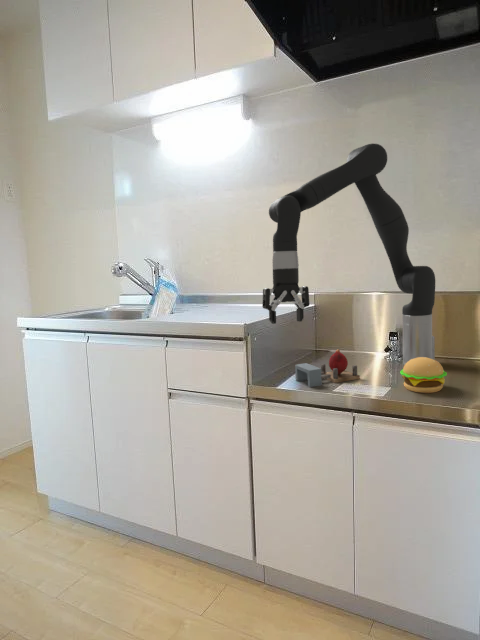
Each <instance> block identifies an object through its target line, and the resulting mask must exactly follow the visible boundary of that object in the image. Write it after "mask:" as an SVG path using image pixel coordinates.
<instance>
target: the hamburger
mask: <svg viewBox="0 0 480 640" xmlns="http://www.w3.org/2000/svg"><path fill="white" fill-rule="evenodd" d="M399 373H400V375H401V377H402V379H404V382H403V385H404V387H405V389H406V390H408V391H410V392H416V393H424V394H430V393H431V394H432V393H437V392H440V391H441V390H442V389H443V387H444V384H445V383H446V379H445V377H447V374H448V373H447V371H445V370H444V368H443V366H442V364H441V363H440V362H439V361H437V360H436V359H435V360H433V359H430V358H427V357H418V358H414V359H411V360H409V361H408V362H407V363H406V364H405V365H403V368H402V369H401V370H400V371H399Z"/></svg>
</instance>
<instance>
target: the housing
mask: <svg viewBox="0 0 480 640" xmlns="http://www.w3.org/2000/svg"><path fill="white" fill-rule="evenodd" d="M294 367H295V368H294V369H295V372H294V373H295V381H296V382H300V381H301V382H302V381H306V380H307V386H308V387H309V388H312V387H313V388H314V387H319V386H322V385H323V384H322V383H323V379H321V367H318V366H315V365H314V364H313V365H312V364H310V363H306V362H305V363H298V364H295V365H294Z"/></svg>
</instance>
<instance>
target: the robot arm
mask: <svg viewBox="0 0 480 640" xmlns="http://www.w3.org/2000/svg"><path fill="white" fill-rule="evenodd" d="M387 163H388V152H387V151H386V148H384V146H383V145H381V144H379V143H368V144H365V145H362V146H360V147H357V148H355V149H353V150H351V151H350V152H349V153H348V156H347V158H346V162H345V163H344V164H342V165H339V166H338V167H335V168H333V169H331V170H329V171H327V172H325V173H322V174H320V175H318V176H316V177H314V178H313V179H310V180H309V181H307V182H306V183H304V184H302V185H301V186H299V187H298V188H296V189H295V190H293V191H291V192H289V193H287V194H285V195H283V196H281V197H279V198H277V199H275V200H274V201H273V202H271V204H270V205H269V207H268V215H269V218H270V219H271V220H272V221H273V222H274V223H277V225H276V231H275V232H274V233H273V237H272V259H271V260H272V263H271V264H272V285H273V286H272V288H268V287H266V288H265V287H264V288H263V289H262V309H263V310H267V311H268V320H269V322H270V323H271V324H273V325H274V324H277V311H276V309H277V308H278V306H279V305H280V304H281V303H287V302H289V303H293V304H294V305H295V308H296V321H297V322H298V323H300V322H303V320H304V316H305V315H304V309H305V308H307V307H310V292H309V287H308V286H305V285H303V286H300V287H299V281H300V280H299V273H300V272H299V256H298V254H299V253H298V238H297V237H298V232H299V227H300V223H301V213H302V212H304V211H307V210H310V209H312V208H314V207H316V206H318V205H319V204H321V203H322V202H324V201H326V200H327V199H329V198H331V197H332V196H334V195H335V194H337V193H339V192H340V191H341V190H344V189H345V188H347V187H349V186H351V185H352V184H355V186H356V188H357V190H358V192H359V193H360V195H361V197H362V199H363V202H364V204H365V206H366V209H367V210H368V213H369V214H370V217H371V219H372V222H373V224H374V227H375V229H376V232H377V234H378V237H379V238H380V240H381V242H382V245H383V247H384V250H385V252H386V255H387V257H388V259H389V264H390V266H391V269H392V273H393V275H394V280H395V282H396V284H397V287H398V289H399V290H400V291H402V293H405V294H411V295H412V298H411V301H410V302H409V303H407V304H405V305H403V306H402V309H401V311H402V365H403V366H405V364H406V363H407V362H408V361H409V360H411V359H414V358H418V357H427V358H430V359H433V360H436V359H435V352H436V351H435V349H436V348H435V336H434V335H433V308H434V307H435V306H434V305H435V303H436V302H435V298H436V275H435V272H434V270H433V269H432V268H431V267H430V266H427V265H413V263H412V262H411V260H410V257H409V254H408V250H407V249H408V248H407V247H408V239H409V230H410V227H409V225H408V224H409V223H408V221H407V219H406V216H405V214H404V212H403V210H402V208H401V206H400V205H399V204H398V203H397V202H396V201H395V199H393V197H391V195H390V194H388V192H387V191H385V190H384V188H383V187H382V185H381V183H380V181H379V179H378V176H377V175H378V174H380V173H381V172H382V171H383V170H384V169H385V167H386V165H387ZM272 294H273V296H274V297H272V300H271V296H272ZM299 294H301V299H300V297H299V296H298V295H299Z"/></svg>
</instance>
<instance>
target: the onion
mask: <svg viewBox="0 0 480 640" xmlns="http://www.w3.org/2000/svg"><path fill="white" fill-rule="evenodd" d="M328 366H329V369H330V370H331V372H332V371H333V369H334V368H337V369H338V375H339V374H341V373H342V372H343V371H344V370H345V371H346V369H347V368H348V366H349V363H348V359H347V357H346V355H344V354H343V353H342V352H341V351H340V349H336V350H335V352H334V353H333V354H332V355H330V357H329V360H328Z"/></svg>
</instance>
